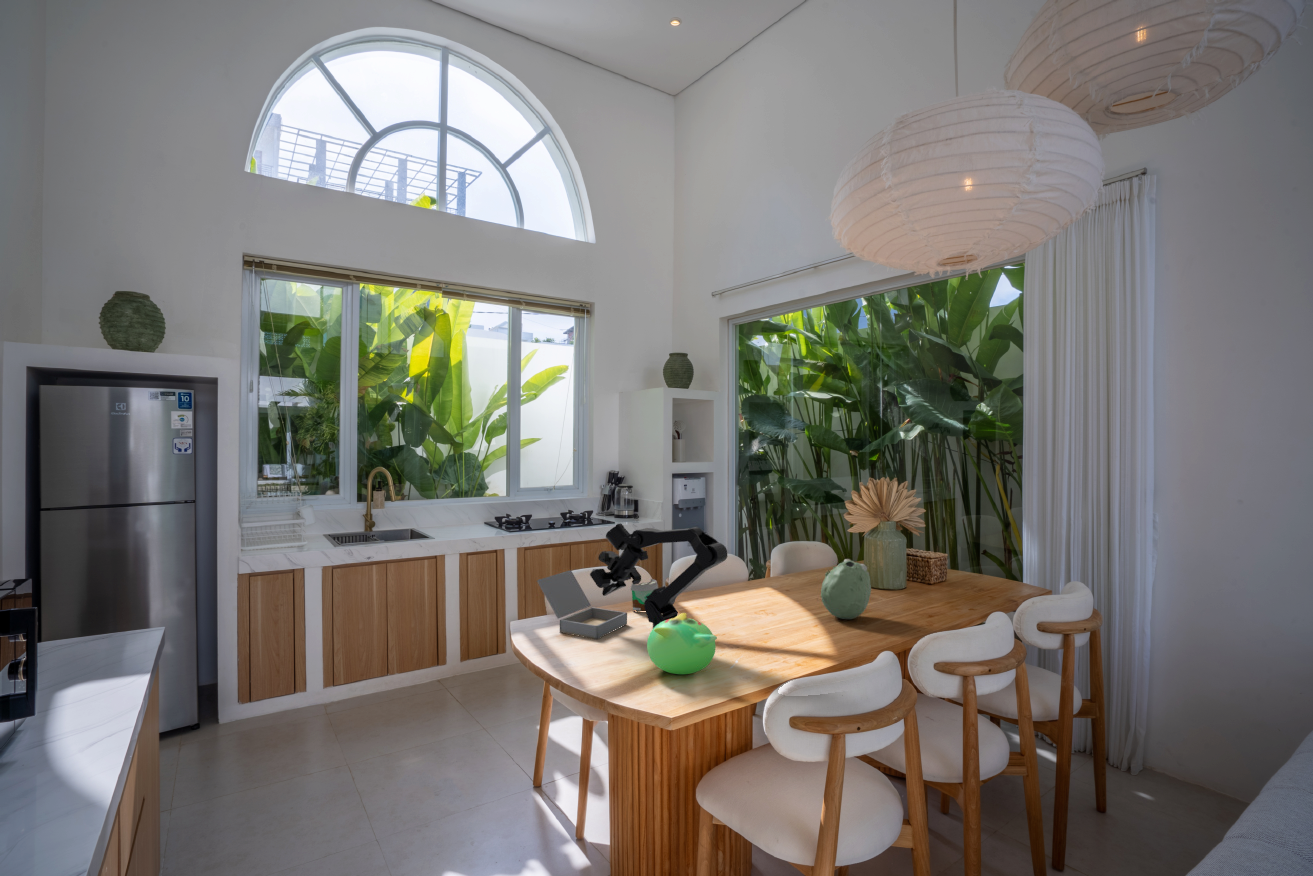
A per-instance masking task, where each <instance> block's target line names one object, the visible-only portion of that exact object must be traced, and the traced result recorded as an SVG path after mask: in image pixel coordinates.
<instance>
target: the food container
mask: <svg viewBox="0 0 1313 876" xmlns="http://www.w3.org/2000/svg"><path fill="white" fill-rule="evenodd" d="M657 581H658V580H656V579H654V578H653V579H652V578H650V581H648V582H641V583H639V584H634V585H633V584H632V583H631V586H630V591H631V599H632V601H631V602H632V611H633V610H636V611H645V607H644V602H645V600H646V599H647V598H646V596H649V595H650V594H651V593H652V591H653V590H654V589H657V588H659V584H658V582H657Z"/></svg>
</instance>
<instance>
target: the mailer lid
mask: <svg viewBox="0 0 1313 876" xmlns="http://www.w3.org/2000/svg"><path fill="white" fill-rule="evenodd" d="M536 582H537V583H538V585H539V588H540V590H541V591H542V593H543V594H544V597H545V598H546V600H547V602H548V603H549V606H550V608H551V609H552V611H553V613H554V615H555V617H556V618H557V620H560V619H561V618H563V617H564V618H565V617H567V616H568V615H569V616H570V615H573V614H575V613H576V612H577V613H578V612H580V611H581V610H582V611H583V610H585V609H588V608H590V607H591V606H592V604H591V603H590V601H589V599H588V598H587V596H586V594H585V592H584V590H583V589H582V587H581V585H580V584H579V582H578V580H577V578H576V577H575V575H574V573H573V571H572V569H571V570H567V571H564V572H560V573H556V574H553V575H550V576H546V577H543V578H539V579H537V581H536Z"/></svg>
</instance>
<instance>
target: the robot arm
mask: <svg viewBox="0 0 1313 876" xmlns="http://www.w3.org/2000/svg"><path fill="white" fill-rule="evenodd" d="M605 538H606V539H607V541H608V542H609V543H610V544H611V545H612V547H614V548H615V550H616V551H619V550H620V551H622V553H621V554H620V555H619V554H617V553H616V552H614V551H612V550H608V551H606V550H604V551H601V552H600V553H599V554H598V560H599V561H600V562H601V563H604V564H605V565H606V568H607V570H608V571H606V570H605V569H604V568H593V569H592V570H591V571H590V573H589V576H590V578H591V579H592V580H593V582H594V583H595V585H596V587H598V588H600V589H602V592H601V594H602V596H604V597H605V596H608V595H610V594H612V593H614V592H616V591H618V590H620V589H622V588H625V587H627V584H626V581H629V580H631V579H632V581H631V585H632V584H633V585H639V584H640V582H641V581H642V574H640V573H639V571H638V569H637V567H636V566H637V564H638V562H639V561H641V562H642V561H646V560H648V559H649V555H648V551H647V550H644V549H643V548H648V547H653V546H654V545H658V544H668V543H682V542H685V543H686V542H688V543H689V544H690V546H691V548H692V550H693V551H694V553H695V554H696V556H695V558H694V561H693V562H692V563H691V564H690V565H689V566H688V567H687V568H686V569H684V571H683V572H681V573H680V575H678V576H677V577H676V578H675V579H674V580H673V581H671V582H670V583H669V584H668V585H667V586H665V585H664V586H661V587H660V586H659V587H658V588H657V589H654V590H653V591H652V593H651V594H650V595H649V596H646V598H647V599H646V600H645V602H644V607H645V611H646V617H647V620H648V622H649V623H651V624H652V629H653V628H654V627H655V626H656V625H658V624H659V623H661V622H662V621H665V620H668V619H671V618H675V617H676V616H678V615H679V611H678V610H677V609H676V607H675V606H674V604H675V602H676V599H677V598H678V597H679V596H680V595H681V594H682V593H683V592H684V591H685V590H686V589H687V588H689V587H690V585H692V584H693V583H694V582H696V580H697V579H699V578H700V577H701V576H702V575H703V574H704V573H705V572H706V571H708V570H711V569H712V568H714V567H717V566H718V565H720V564H721V563H723V562H725V561H726V560H727V559H728V549H727V547H726V546H725V545H724V544H723V543H721V542H719V541H718V540H717V539H715V538H714V537H712V536H711V535H710V534H708V533H706V532H705V531H704V530H703V529H701V528H700V527H697V526H694V527H690V528H679V529H664V530H663V529H662V530H661V529H657V528H651V527H646V528H641V529H636V530H635V529H634V530H633V531H632V533H630V532H629V531H628V530H627V529H626V528H625V526H624V525H623V524H622V523H620V522H619V523H617V524H616V525H615V526H613V527H612V528H611V529H610V530H608V531H607V532H606V534H605Z"/></svg>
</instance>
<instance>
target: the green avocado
mask: <svg viewBox="0 0 1313 876" xmlns="http://www.w3.org/2000/svg"><path fill="white" fill-rule="evenodd" d="M871 593H872V586H871V577H870V572H869V571H868V566H867V565H866V564H864V563H860V562H855V561H854V560H852V559H850V558H845V559H844V560H843V561H841V562H840V563H839V564H838V565H836V566H833V568H832V569H831V570H829V569H827V571H826V572H825V574H824V579H823V581H822V583H821V591H820V599H821V603H822V604H823V606H824V607H825V609H826V610H827V611H828V612H829V614H831V615H832V616H833V617H835V618H838V619H841V620H852V619H855V618H857V617H859V616H861V615H862V614H863V613H864V611H866V609H867V607H868V605H869V602H870V597H871Z"/></svg>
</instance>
